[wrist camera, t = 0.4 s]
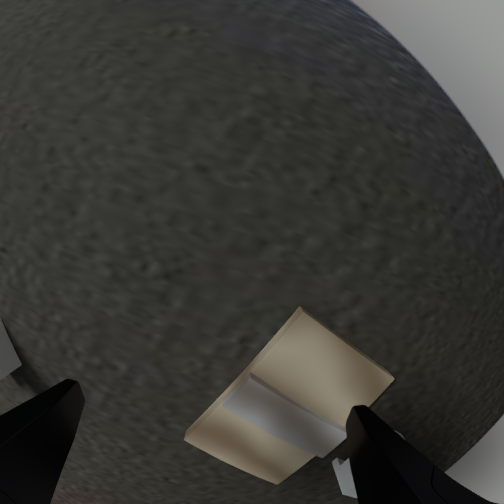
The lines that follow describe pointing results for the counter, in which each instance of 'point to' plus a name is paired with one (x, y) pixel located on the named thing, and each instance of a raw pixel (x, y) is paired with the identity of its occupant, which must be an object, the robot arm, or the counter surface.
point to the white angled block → (7, 354)
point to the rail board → (289, 401)
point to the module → (346, 475)
